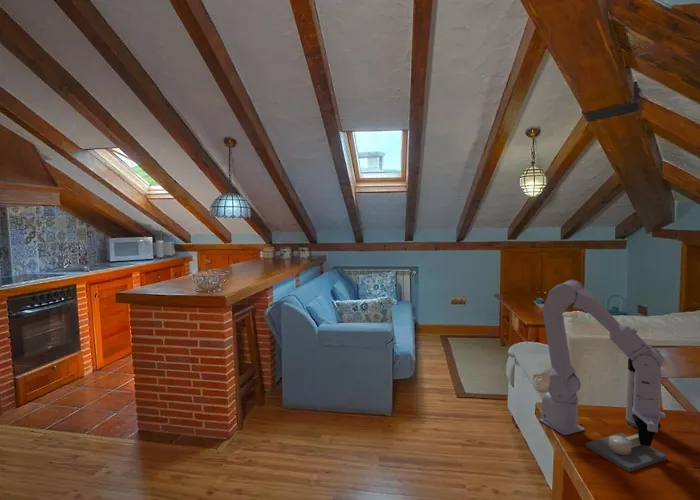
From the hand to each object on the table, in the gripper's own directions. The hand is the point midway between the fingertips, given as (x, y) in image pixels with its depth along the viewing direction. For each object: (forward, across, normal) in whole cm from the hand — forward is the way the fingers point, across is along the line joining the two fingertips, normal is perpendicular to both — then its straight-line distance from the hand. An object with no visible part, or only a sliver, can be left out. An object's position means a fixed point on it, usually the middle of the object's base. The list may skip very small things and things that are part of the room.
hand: (644, 444), depth 107 cm
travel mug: (+3, +18, -2) cm, 18 cm away
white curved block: (+1, -1, +4) cm, 4 cm away
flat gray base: (+2, -2, +5) cm, 5 cm away
